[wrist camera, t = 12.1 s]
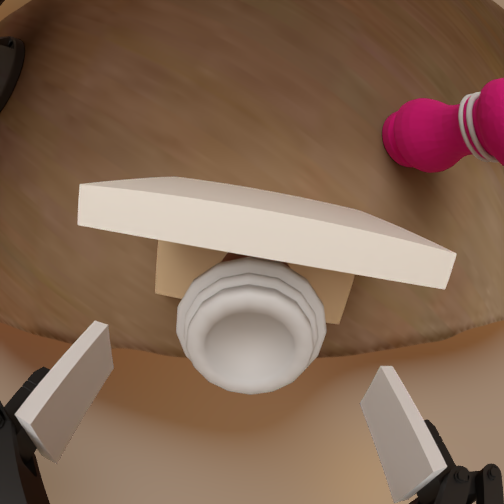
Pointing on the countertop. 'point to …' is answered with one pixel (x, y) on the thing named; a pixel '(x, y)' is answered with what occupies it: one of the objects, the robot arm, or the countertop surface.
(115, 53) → the countertop surface
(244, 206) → the board
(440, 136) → the pepper mill
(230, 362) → the coffee cup
